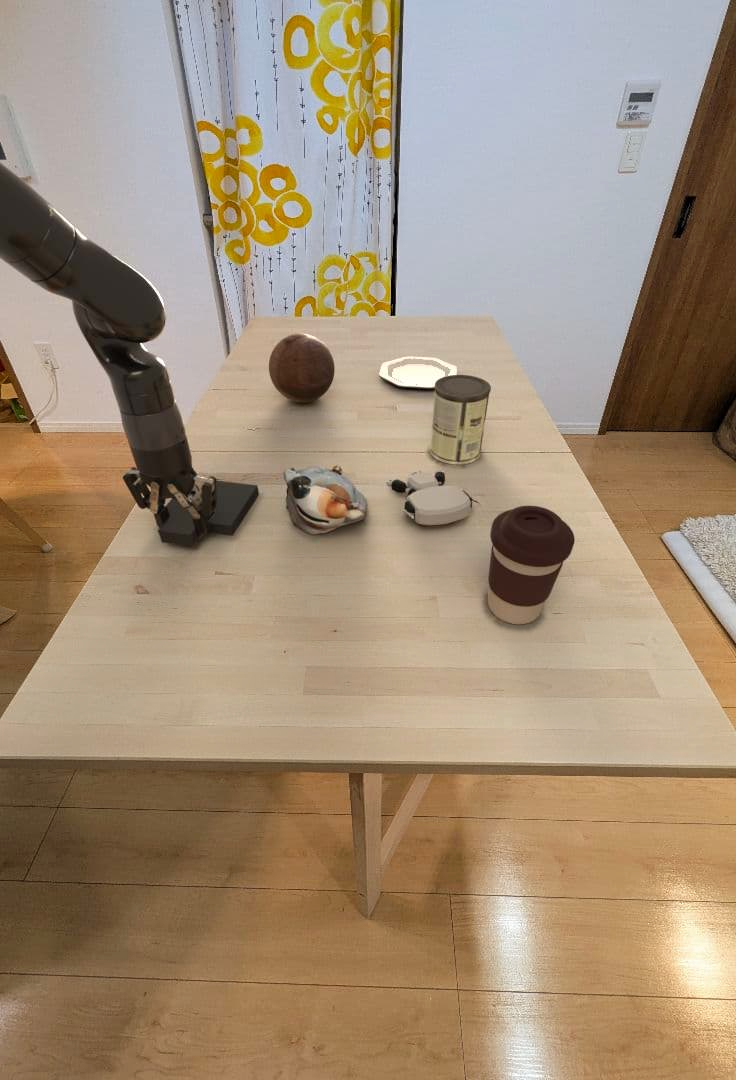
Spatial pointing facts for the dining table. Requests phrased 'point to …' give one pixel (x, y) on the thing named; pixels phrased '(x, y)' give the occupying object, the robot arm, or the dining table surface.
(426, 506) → the robot toy
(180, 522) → the black pad
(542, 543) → the coffee cup
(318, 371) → the wooden sphere
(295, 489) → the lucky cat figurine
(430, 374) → the plate
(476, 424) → the coffee can
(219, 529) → the base pad
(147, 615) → the dining table surface
